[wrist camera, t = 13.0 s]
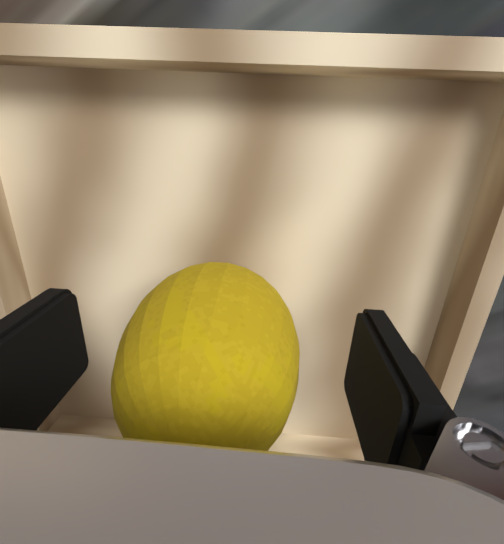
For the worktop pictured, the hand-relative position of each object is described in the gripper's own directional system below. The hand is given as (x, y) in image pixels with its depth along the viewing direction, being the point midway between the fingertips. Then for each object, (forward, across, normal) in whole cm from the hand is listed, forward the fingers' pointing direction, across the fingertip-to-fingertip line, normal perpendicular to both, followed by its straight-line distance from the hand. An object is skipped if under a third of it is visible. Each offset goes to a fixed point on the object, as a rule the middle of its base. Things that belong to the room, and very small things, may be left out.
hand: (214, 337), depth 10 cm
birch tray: (+5, 0, 0) cm, 5 cm away
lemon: (+4, 0, 0) cm, 4 cm away
